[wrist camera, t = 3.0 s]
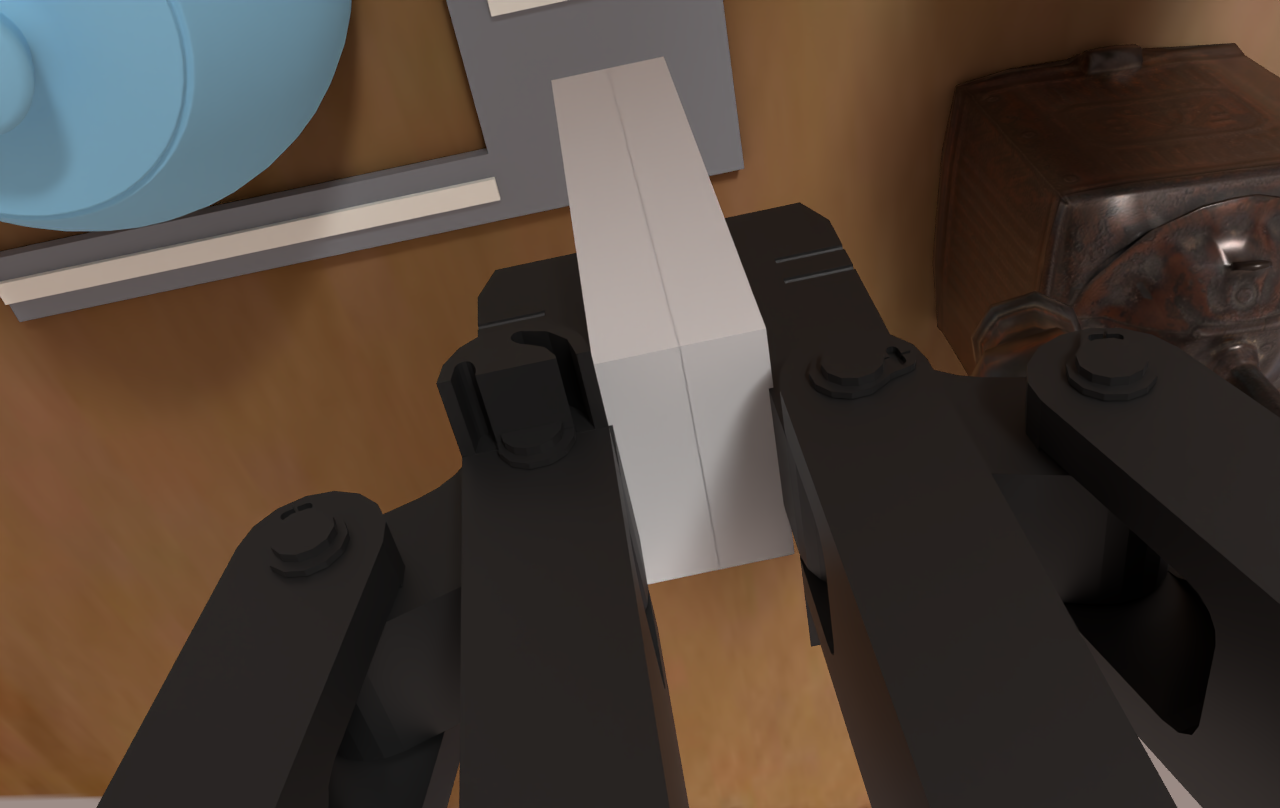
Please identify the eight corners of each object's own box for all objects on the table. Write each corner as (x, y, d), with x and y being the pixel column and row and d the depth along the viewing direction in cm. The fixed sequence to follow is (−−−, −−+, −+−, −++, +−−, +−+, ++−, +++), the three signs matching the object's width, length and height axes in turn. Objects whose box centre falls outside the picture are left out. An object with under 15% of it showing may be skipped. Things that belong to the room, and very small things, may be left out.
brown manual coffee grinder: (1247, 19, 39) (1690, 286, 25) (1182, 293, 46) (1503, 627, 32) (804, 76, 39) (998, 383, 24) (803, 345, 45) (956, 710, 31)
